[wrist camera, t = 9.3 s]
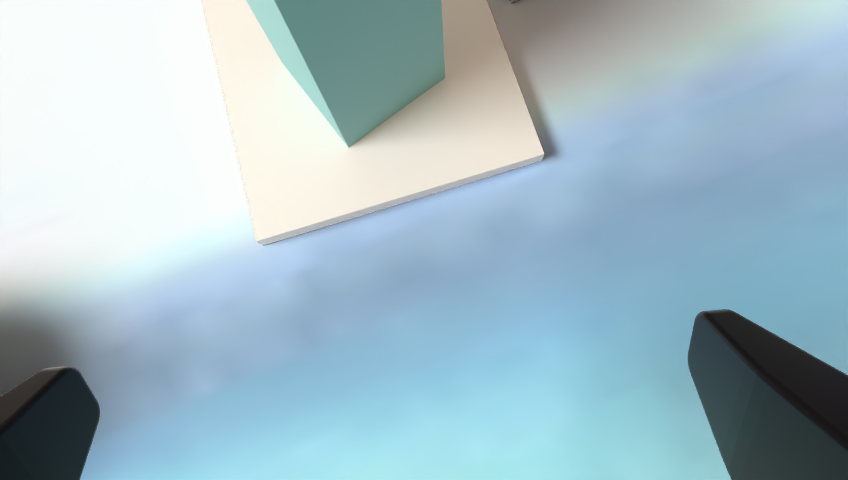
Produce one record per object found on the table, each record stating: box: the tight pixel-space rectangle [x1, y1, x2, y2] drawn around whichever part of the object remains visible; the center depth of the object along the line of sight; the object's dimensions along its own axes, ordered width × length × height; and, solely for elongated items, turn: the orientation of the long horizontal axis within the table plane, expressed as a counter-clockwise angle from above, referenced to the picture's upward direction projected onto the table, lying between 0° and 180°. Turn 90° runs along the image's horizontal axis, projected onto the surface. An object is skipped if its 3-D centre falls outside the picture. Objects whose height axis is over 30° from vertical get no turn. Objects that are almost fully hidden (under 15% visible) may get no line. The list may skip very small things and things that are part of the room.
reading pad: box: [201, 0, 544, 246], centre depth 24 cm, size 12×12×1 cm
